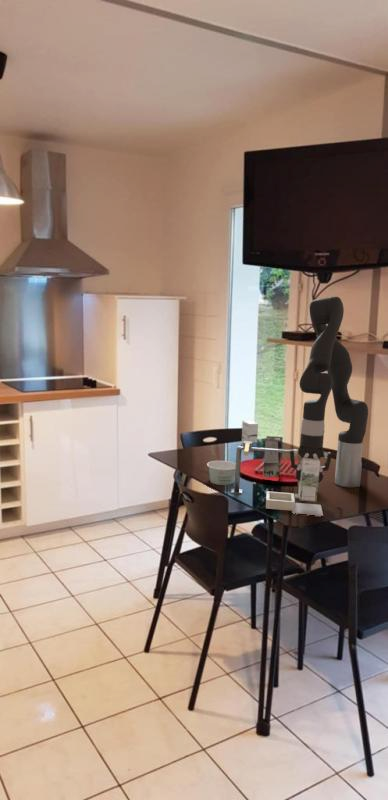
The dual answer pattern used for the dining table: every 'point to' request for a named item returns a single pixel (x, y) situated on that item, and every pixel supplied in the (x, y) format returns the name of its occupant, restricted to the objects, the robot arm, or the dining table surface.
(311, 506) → the pad
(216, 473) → the food container
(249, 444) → the latch
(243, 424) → the ink box
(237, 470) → the latch rail
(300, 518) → the dining table surface
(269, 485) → the dining table surface
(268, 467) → the coffee box
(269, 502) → the socket
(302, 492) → the syrup box
